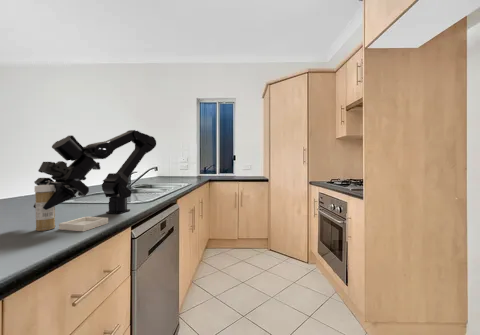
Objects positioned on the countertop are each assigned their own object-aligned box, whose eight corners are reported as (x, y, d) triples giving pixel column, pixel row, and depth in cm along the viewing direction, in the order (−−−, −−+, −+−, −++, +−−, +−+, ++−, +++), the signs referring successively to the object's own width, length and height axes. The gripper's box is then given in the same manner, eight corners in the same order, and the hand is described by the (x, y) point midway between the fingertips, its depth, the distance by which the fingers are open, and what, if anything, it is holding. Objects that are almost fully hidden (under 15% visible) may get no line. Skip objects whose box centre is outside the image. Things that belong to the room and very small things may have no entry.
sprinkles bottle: (55, 226, 70) (54, 184, 70) (55, 229, 66) (54, 185, 66) (35, 228, 67) (35, 184, 67) (34, 232, 63) (33, 186, 63)
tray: (85, 221, 75) (85, 216, 75) (108, 223, 73) (108, 217, 73) (59, 229, 66) (59, 223, 66) (83, 231, 64) (83, 225, 64)
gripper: (41, 153, 73) (-5, 190, 63) (78, 152, 67) (34, 193, 56) (67, 175, 81) (30, 211, 71) (103, 176, 74) (68, 216, 64)
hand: (39, 208), depth 65 cm, fingers closed on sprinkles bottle, 4 cm apart
